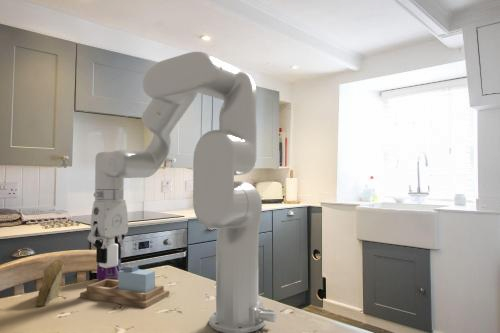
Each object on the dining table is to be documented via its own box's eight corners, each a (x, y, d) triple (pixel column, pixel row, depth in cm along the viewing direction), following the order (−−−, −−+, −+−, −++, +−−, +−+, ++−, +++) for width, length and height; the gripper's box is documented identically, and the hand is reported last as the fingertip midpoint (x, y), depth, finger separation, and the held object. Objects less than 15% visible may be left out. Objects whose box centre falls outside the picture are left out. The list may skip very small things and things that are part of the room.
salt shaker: (98, 266, 101) (98, 232, 102) (111, 264, 104) (111, 230, 105) (105, 269, 99) (105, 234, 99) (118, 266, 102) (119, 232, 102)
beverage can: (112, 283, 111) (112, 244, 112) (92, 282, 113) (92, 243, 113) (125, 277, 118) (125, 240, 118) (105, 275, 120) (105, 239, 120)
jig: (169, 295, 100) (169, 285, 100) (146, 307, 90) (146, 296, 91) (107, 286, 108) (107, 277, 108) (80, 297, 99) (80, 286, 99)
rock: (49, 300, 90) (78, 283, 99) (30, 272, 91) (61, 257, 100) (25, 321, 93) (56, 302, 103) (6, 293, 94) (39, 278, 103)
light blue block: (155, 293, 98) (155, 266, 98) (145, 298, 94) (145, 270, 94) (128, 289, 101) (128, 263, 101) (118, 293, 98) (118, 267, 98)
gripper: (96, 197, 93) (95, 269, 92) (139, 194, 108) (139, 255, 108) (74, 197, 96) (74, 266, 95) (120, 193, 111) (119, 253, 111)
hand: (108, 259), depth 102 cm, fingers closed on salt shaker, 4 cm apart
